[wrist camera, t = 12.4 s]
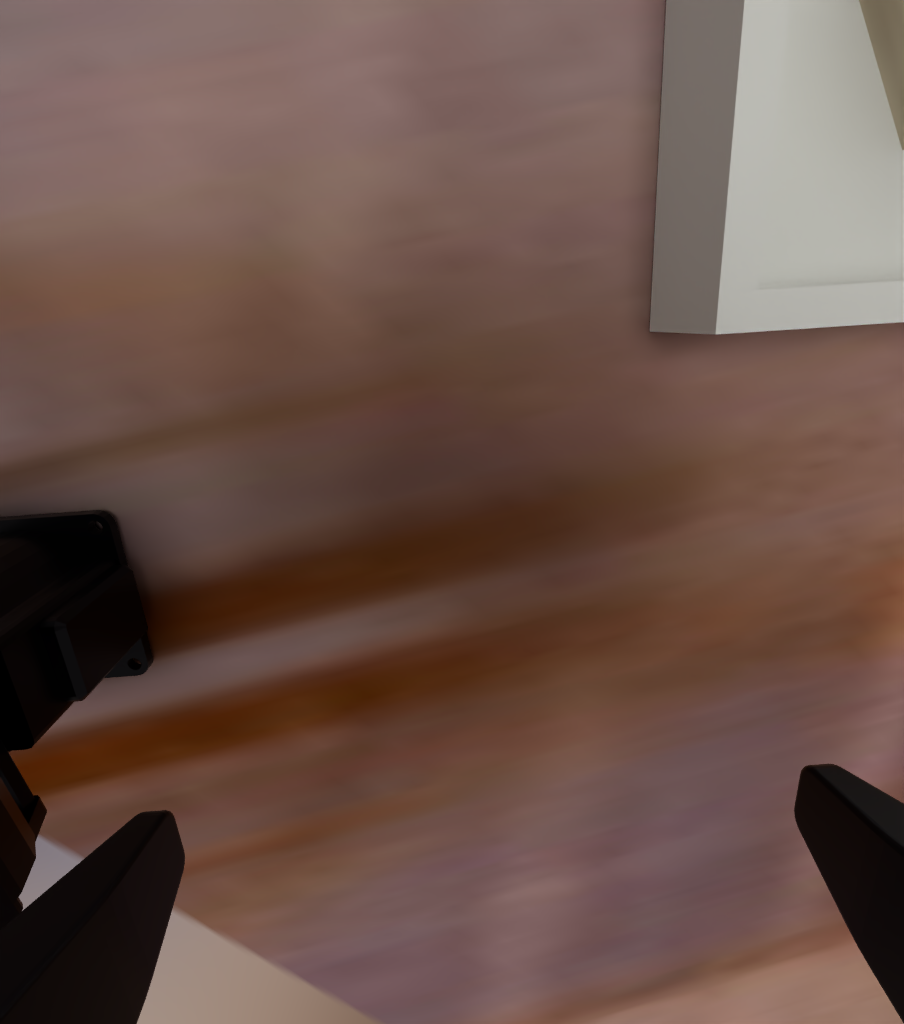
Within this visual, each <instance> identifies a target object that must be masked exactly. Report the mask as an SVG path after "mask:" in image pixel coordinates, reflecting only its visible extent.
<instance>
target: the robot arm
mask: <svg viewBox="0 0 904 1024" xmlns="http://www.w3.org/2000/svg"><path fill="white" fill-rule="evenodd" d="M94 521H98V522H99V523H101V525H102V526H103V530H99V529H98V528H96V526H95V524H94ZM147 629H148V626H147V623H146V619H145V615H144V612H143V608H142V604H141V601H140V597H139V593H138V590H137V586H136V582H135V578H134V575H133V571H132V570H131V569H130V568H129V567H128V564H127V561H126V557H125V553H124V550H123V546H122V542H121V539H120V535H119V531H118V528H117V524H116V521H115V519H114V518H113V517H112V516H111V515H110V514H109V513H107V512H105V511H100V510H96V511H81V512H67V513H53V514H39V515H24V516H10V517H0V1024H137V1021H138V1018H139V1016H140V1012H141V1010H142V1007H143V1004H144V1002H145V999H146V996H147V993H148V990H149V986H150V983H151V980H152V977H153V974H154V970H155V967H156V963H157V959H158V956H159V953H160V950H161V946H162V943H163V939H164V936H165V932H166V929H167V926H168V922H169V919H170V915H171V912H172V908H173V905H174V901H175V898H176V895H177V891H178V888H179V884H180V881H181V877H182V874H183V870H184V864H185V854H184V849H183V845H182V842H181V838H180V835H179V831H178V828H177V824H176V821H175V818H174V815H173V814H172V813H171V812H170V811H167V810H162V811H148V812H142V813H140V814H138V815H136V816H135V817H133V818H132V819H131V820H130V821H129V822H128V823H126V824H125V825H124V826H123V827H122V828H120V829H119V830H118V831H117V832H116V833H114V834H113V835H112V836H111V837H110V838H109V839H107V840H106V841H105V842H104V843H103V844H101V845H100V846H99V847H98V848H97V849H95V850H94V851H93V852H92V853H91V854H90V855H88V856H87V857H86V858H85V859H84V860H82V861H81V862H80V863H79V864H78V865H76V866H75V867H74V868H73V869H72V870H71V871H69V872H68V873H67V874H66V875H65V876H63V877H62V878H61V879H60V880H59V881H57V882H56V883H55V884H54V885H53V886H52V887H50V888H49V889H48V890H47V891H46V892H44V893H43V894H42V895H41V896H40V897H38V898H37V899H36V900H35V901H34V902H33V903H32V904H30V905H29V906H28V907H27V908H26V909H24V910H23V911H22V909H23V904H22V902H21V901H20V899H19V898H18V897H19V895H20V894H21V892H22V890H23V888H24V885H25V883H26V880H27V878H28V876H29V873H30V871H31V868H32V866H33V863H34V861H35V859H36V850H35V841H36V839H37V836H38V834H39V831H40V828H41V826H42V823H43V821H44V818H45V815H46V813H47V809H46V808H45V806H44V804H43V802H42V801H41V799H40V797H39V796H38V795H35V796H33V794H32V792H31V791H30V789H29V787H28V786H27V784H26V782H25V780H24V779H23V777H22V775H21V773H20V772H19V770H18V768H17V767H16V765H15V763H14V761H13V760H12V758H11V756H10V755H9V752H10V751H12V750H24V749H29V748H32V747H33V745H34V744H35V743H36V742H37V741H38V740H39V739H40V738H41V737H42V736H43V735H44V734H45V733H46V731H47V730H48V729H49V728H50V727H51V726H52V725H53V724H54V723H55V722H56V721H57V720H58V719H59V718H60V716H61V715H62V714H63V713H64V712H65V711H66V710H67V709H68V708H69V707H70V706H71V705H72V704H73V703H74V701H82V700H84V699H85V698H86V697H87V696H88V695H89V694H90V693H91V692H92V691H93V689H94V688H95V687H96V686H97V685H98V684H99V683H100V682H101V681H102V680H103V678H110V677H123V676H136V675H141V674H143V673H145V672H146V671H147V670H148V668H149V667H150V666H151V664H152V662H153V656H152V652H151V649H150V645H149V641H148V638H147V634H146V631H147ZM133 658H135V659H138V660H139V661H140V662H141V664H139V663H136V662H135V661H134V660H133ZM794 812H795V819H796V823H797V826H798V828H799V830H800V832H801V834H802V836H803V838H804V840H805V842H806V844H807V846H808V848H809V850H810V852H811V854H812V856H813V859H814V861H815V863H816V865H817V867H818V869H819V871H820V873H821V875H822V877H823V879H824V881H825V883H826V885H827V887H828V889H829V891H830V893H831V895H832V897H833V899H834V901H835V903H836V905H837V907H838V909H839V911H840V913H841V915H842V917H843V919H844V921H845V923H846V925H847V927H848V929H849V931H850V933H851V934H852V936H853V938H854V940H855V942H856V944H857V946H858V948H859V949H860V951H861V953H862V954H863V956H864V958H865V960H866V961H867V963H868V965H869V967H870V968H871V970H872V972H873V973H874V975H875V977H876V978H877V980H878V981H879V983H880V985H881V986H882V988H883V990H884V991H885V993H886V995H887V996H888V998H889V1000H890V1001H891V1003H892V1005H893V1006H894V1008H895V1010H896V1011H897V1013H898V1015H899V1016H900V1018H901V1019H902V1021H903V1023H904V804H903V803H902V802H900V801H898V800H896V799H895V798H893V797H891V796H890V795H888V794H886V793H884V792H883V791H881V790H879V789H878V788H876V787H874V786H872V785H871V784H869V783H867V782H865V781H864V780H862V779H860V778H859V777H857V776H855V775H853V774H852V773H850V772H848V771H846V770H845V769H843V768H841V767H839V766H837V765H834V764H820V765H808V766H805V767H804V768H803V769H802V771H801V774H800V779H799V785H798V790H797V796H796V802H795V808H794Z"/></svg>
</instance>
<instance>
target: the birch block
mask: <svg viewBox="0 0 904 1024" xmlns="http://www.w3.org/2000/svg"><path fill="white" fill-rule="evenodd" d="M859 2H860V6H861V9H862V13H863V16H864V20H865V23H866V26H867V30H868V33H869V37H870V40H871V44H872V47H873V51H874V54H875V58H876V61H877V65H878V68H879V71H880V75H881V78H882V82H883V85H884V89H885V92H886V96H887V99H888V103H889V106H890V109H891V113H892V116H893V120H894V123H895V127H896V130H897V134H898V137H899V141H900V144H901V148H902V150H904V0H859Z"/></svg>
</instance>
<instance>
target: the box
mask: <svg viewBox="0 0 904 1024" xmlns="http://www.w3.org/2000/svg"><path fill="white" fill-rule="evenodd" d="M897 322H904V150H902V148H901V144H900V141H899V137H898V134H897V130H896V127H895V123H894V120H893V116H892V113H891V109H890V106H889V103H888V99H887V96H886V92H885V89H884V85H883V82H882V78H881V75H880V71H879V68H878V65H877V61H876V58H875V54H874V51H873V47H872V44H871V40H870V37H869V33H868V30H867V26H866V23H865V20H864V16H863V13H862V9H861V6H860V2H859V0H666V15H665V35H664V55H663V75H662V94H661V114H660V134H659V154H658V174H657V194H656V214H655V233H654V253H653V273H652V293H651V313H650V332H670V333H693V334H731V333H746V332H761V331H776V330H791V329H806V328H821V327H837V326H852V325H867V324H882V323H897Z"/></svg>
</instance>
